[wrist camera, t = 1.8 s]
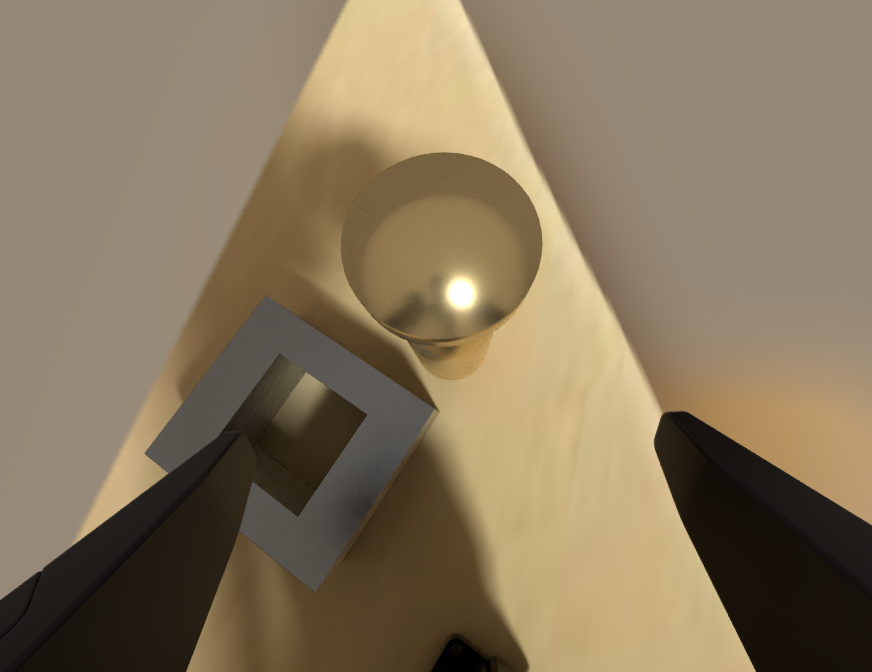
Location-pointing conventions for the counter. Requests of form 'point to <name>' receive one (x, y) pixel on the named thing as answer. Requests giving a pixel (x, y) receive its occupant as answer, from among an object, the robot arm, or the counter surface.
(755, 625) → the robot arm
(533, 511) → the counter surface
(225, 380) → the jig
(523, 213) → the flanged metal cylinder
